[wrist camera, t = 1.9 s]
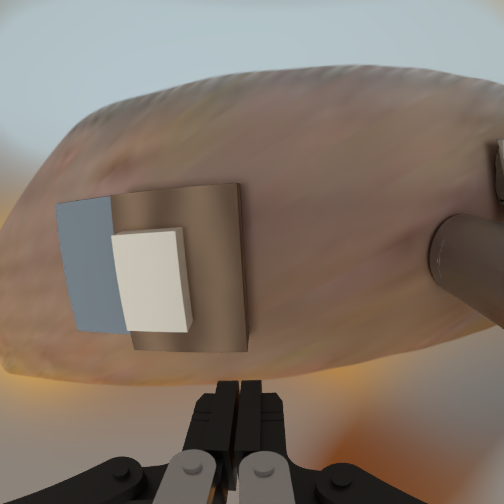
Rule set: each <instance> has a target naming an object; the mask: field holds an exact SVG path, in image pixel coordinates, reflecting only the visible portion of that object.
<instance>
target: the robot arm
mask: <svg viewBox="0 0 504 504" xmlns="http://www.w3.org/2000/svg"><path fill="white" fill-rule="evenodd" d="M430 268H431V272H432V275H433V278H434V279H435V281H436V282H437V284H438V285H439V286H440V287H442V288H443V289H445V290H446V291H448V292H449V293H451V294H452V295H454V296H455V297H457V298H458V299H460V300H461V301H463V302H464V303H466V304H467V305H469V306H470V307H472V308H473V309H475V310H476V311H478V312H479V313H481V314H482V315H484V316H485V317H487V318H488V319H490V320H491V321H493V322H494V323H496V324H497V325H498V326H500V327H501V328H503V329H504V223H503V222H498V221H494V220H489V219H485V218H481V217H476V216H471V215H466V214H459V215H455V216H452V217H451V218H449V219H447V220H446V221H445V222H444V223H443V224H442V225H441V227H440V228H439V229H438V231H437V233H436V235H435V237H434V239H433V242H432V246H431V251H430ZM237 472H238V478H239V504H427V503H425V502H423V501H421V500H419V499H417V498H415V497H412V496H410V495H409V494H406V493H405V492H403V491H401V490H399V489H397V488H395V487H393V486H391V485H389V484H387V483H385V482H384V481H382V480H380V479H378V478H376V477H375V476H373V475H371V474H369V473H368V472H366V471H364V470H362V469H361V468H359V467H357V466H355V465H353V464H349V463H336V464H332V465H330V466H327V467H326V468H324V469H323V470H322V471H316V470H309V469H305V468H302V467H299V466H297V465H295V464H294V463H293V462H292V461H291V460H290V459H289V458H288V455H287V452H286V439H285V428H284V414H283V402H282V400H281V399H280V398H279V396H278V395H277V393H262V384H261V380H245V381H242V382H241V390H240V391H239V382H238V381H218V383H217V388H216V393H215V394H212V393H211V394H210V393H204V394H203V395H202V396H201V397H200V399H199V400H198V401H197V402H196V405H195V408H194V413H193V415H192V419H191V422H190V426H189V429H188V432H187V436H186V439H185V443H184V446H183V450H182V452H180V453H178V454H176V455H175V456H174V457H173V458H172V459H171V460H170V463H168V464H165V465H160V466H150V467H141V465H140V464H139V462H137V461H136V460H134V459H132V458H129V457H115V458H112V459H110V460H108V461H106V462H104V463H102V464H100V465H97V466H95V467H93V468H91V469H89V470H87V471H85V472H83V473H80V474H78V475H76V476H74V477H72V478H69V479H67V480H65V481H63V482H60V483H58V484H55V485H53V486H51V487H48V488H45V489H43V490H40V491H38V492H36V493H33V494H30V495H27V496H24V497H22V498H19V499H16V500H13V501H10V502H7V503H4V504H226V503H227V495H228V490H232V491H235V490H236V484H237Z"/></svg>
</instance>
